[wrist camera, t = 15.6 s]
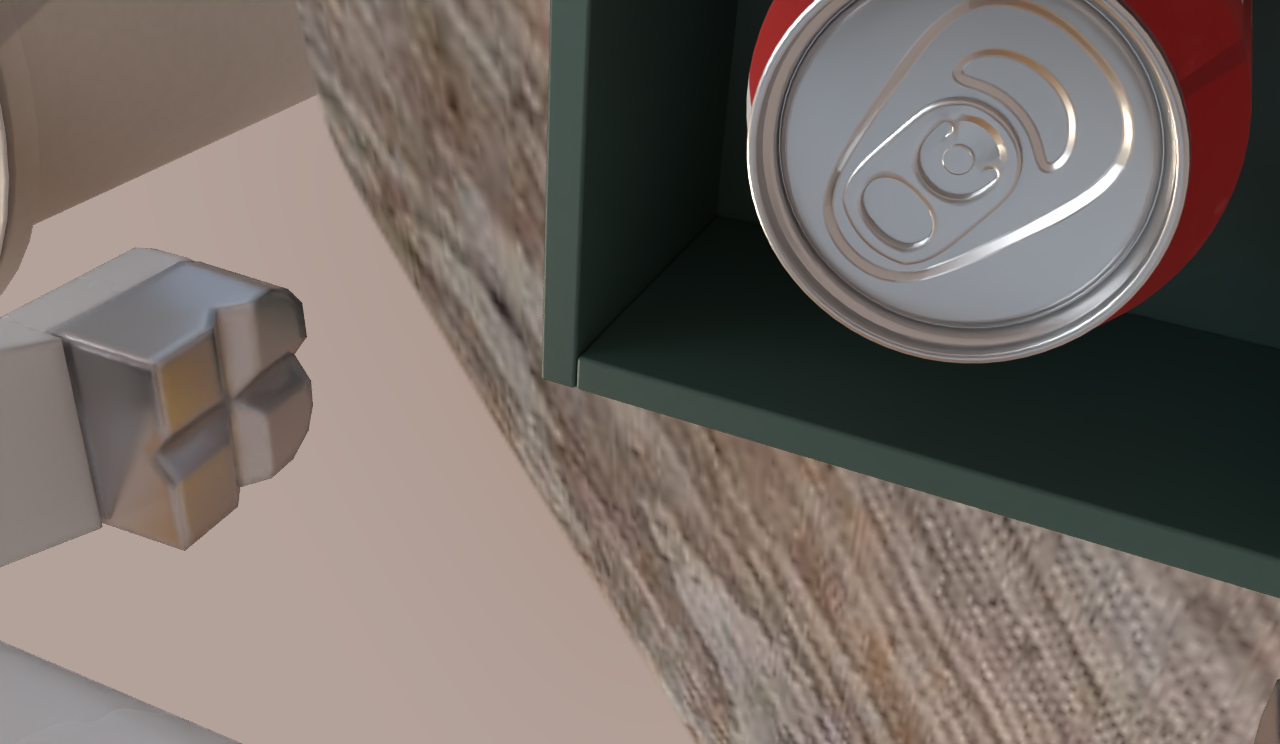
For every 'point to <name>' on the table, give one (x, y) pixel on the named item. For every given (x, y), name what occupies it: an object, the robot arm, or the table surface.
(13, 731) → the robot arm
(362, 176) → the table surface
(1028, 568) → the table surface
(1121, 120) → the soda can
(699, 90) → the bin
